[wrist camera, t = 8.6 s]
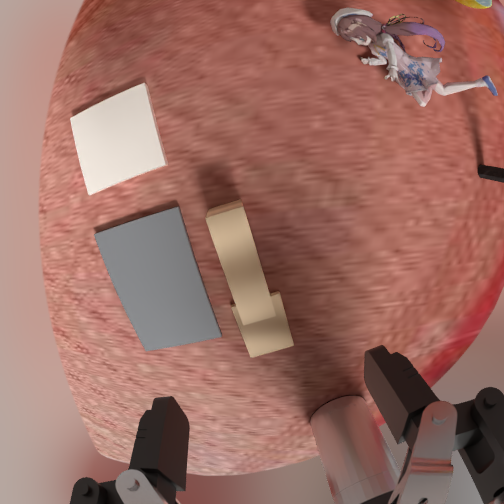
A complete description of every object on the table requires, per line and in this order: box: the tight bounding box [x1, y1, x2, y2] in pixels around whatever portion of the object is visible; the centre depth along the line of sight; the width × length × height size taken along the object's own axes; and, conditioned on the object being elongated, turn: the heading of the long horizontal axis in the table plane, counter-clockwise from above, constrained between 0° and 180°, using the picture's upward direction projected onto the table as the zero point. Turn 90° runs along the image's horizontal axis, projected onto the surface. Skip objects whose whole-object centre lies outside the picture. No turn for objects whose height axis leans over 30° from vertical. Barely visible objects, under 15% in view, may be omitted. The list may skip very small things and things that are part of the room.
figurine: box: [330, 8, 498, 107], centre depth 17 cm, size 12×9×15 cm
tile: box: [70, 83, 168, 195], centre depth 21 cm, size 2×8×8 cm
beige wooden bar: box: [205, 199, 294, 358], centre depth 25 cm, size 17×5×4 cm, turn 16°
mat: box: [94, 206, 222, 351], centre depth 26 cm, size 14×9×1 cm, turn 14°
